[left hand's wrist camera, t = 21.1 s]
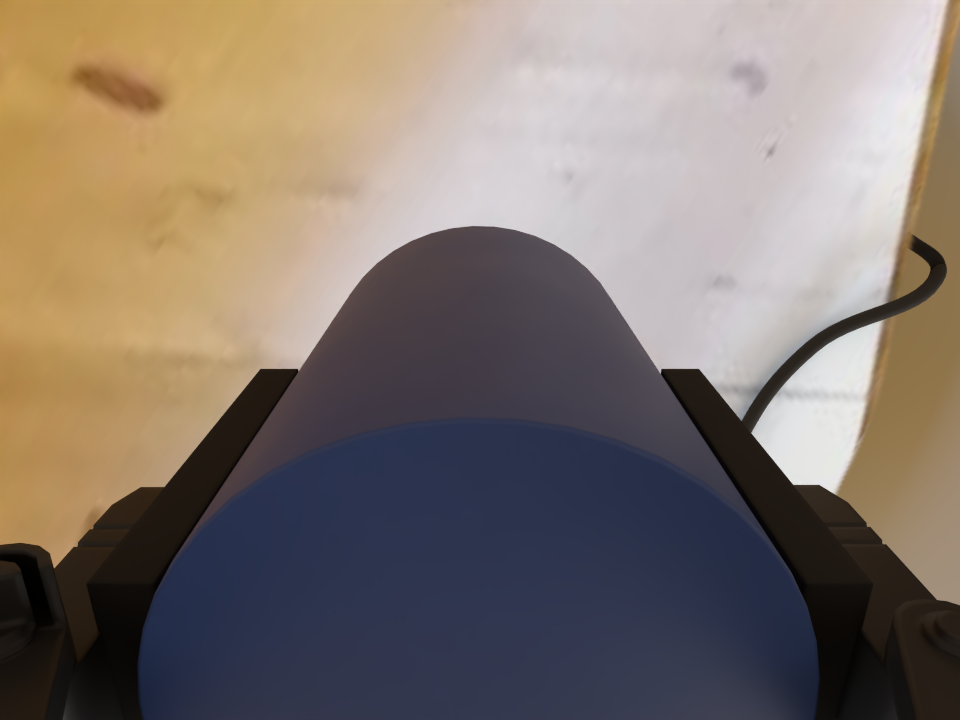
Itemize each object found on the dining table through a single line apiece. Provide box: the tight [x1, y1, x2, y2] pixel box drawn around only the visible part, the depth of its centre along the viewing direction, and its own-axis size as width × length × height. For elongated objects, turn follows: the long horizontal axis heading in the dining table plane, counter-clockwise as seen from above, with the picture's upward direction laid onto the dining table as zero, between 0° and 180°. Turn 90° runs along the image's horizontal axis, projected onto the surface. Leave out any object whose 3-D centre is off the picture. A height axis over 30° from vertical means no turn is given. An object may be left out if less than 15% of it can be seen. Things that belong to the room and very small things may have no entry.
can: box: [138, 226, 820, 720], centre depth 12 cm, size 7×7×10 cm
